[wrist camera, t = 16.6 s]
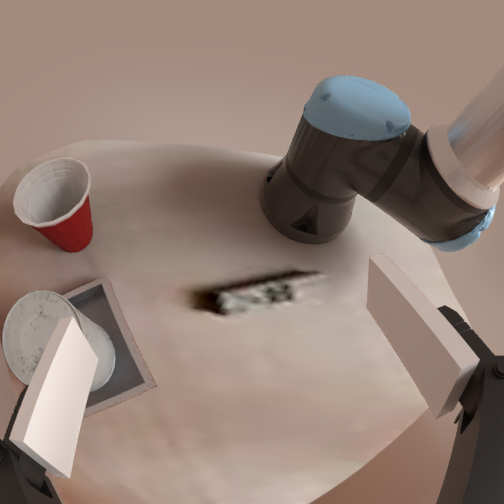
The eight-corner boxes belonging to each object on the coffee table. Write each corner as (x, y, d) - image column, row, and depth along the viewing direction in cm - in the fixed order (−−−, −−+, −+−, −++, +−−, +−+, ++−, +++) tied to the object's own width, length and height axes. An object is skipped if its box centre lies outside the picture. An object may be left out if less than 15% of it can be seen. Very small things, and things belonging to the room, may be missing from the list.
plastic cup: (123, 218, 43) (107, 166, 33) (85, 280, 38) (54, 240, 28) (70, 194, 43) (48, 143, 33) (33, 249, 38) (-2, 207, 28)
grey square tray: (110, 283, 39) (104, 275, 36) (157, 386, 35) (154, 385, 32) (22, 324, 34) (12, 319, 31) (61, 426, 29) (52, 428, 27)
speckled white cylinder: (37, 356, 32) (-12, 339, 21) (78, 305, 36) (40, 270, 25) (87, 407, 31) (46, 411, 20) (130, 352, 35) (104, 335, 24)
